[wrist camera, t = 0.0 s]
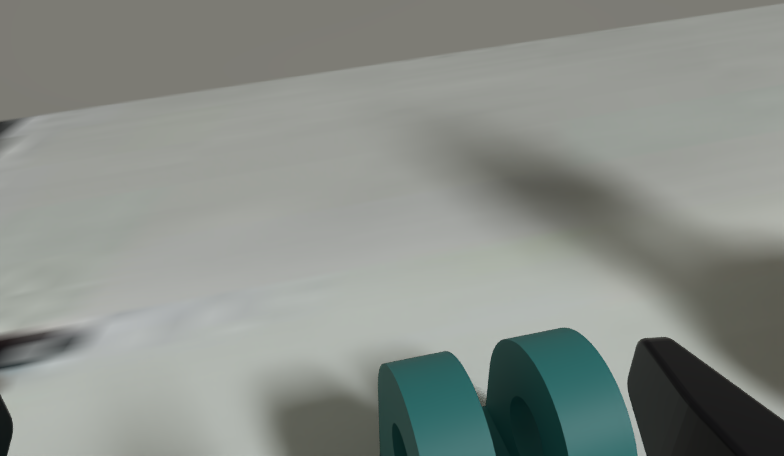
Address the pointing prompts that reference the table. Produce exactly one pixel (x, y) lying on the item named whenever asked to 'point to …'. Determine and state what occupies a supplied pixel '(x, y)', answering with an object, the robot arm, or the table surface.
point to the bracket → (506, 403)
